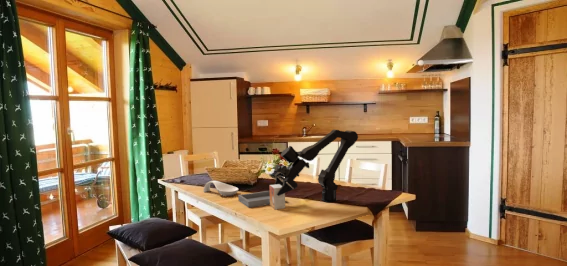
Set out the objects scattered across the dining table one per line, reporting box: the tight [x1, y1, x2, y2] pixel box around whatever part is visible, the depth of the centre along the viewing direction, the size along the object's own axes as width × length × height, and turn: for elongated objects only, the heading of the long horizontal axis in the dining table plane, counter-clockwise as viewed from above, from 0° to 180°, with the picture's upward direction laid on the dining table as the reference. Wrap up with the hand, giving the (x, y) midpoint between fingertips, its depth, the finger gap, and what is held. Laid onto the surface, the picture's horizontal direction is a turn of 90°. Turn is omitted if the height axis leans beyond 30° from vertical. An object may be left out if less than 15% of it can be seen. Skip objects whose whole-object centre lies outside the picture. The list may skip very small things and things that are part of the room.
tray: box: [237, 190, 270, 209], centre depth 197 cm, size 20×16×3 cm
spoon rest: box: [203, 180, 239, 197], centre depth 217 cm, size 24×12×7 cm, turn 56°
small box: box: [268, 183, 286, 210], centre depth 185 cm, size 8×6×10 cm
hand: (274, 193), depth 185 cm, fingers open, 9 cm apart
